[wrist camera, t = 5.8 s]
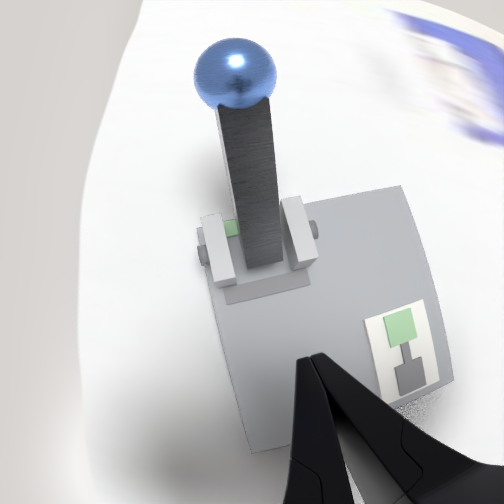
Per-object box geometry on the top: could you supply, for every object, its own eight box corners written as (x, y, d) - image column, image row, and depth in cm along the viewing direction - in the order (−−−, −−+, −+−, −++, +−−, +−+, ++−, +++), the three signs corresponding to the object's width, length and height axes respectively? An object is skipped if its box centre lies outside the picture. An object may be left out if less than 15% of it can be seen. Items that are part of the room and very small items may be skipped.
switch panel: (445, 378, 17) (477, 384, 13) (251, 447, 16) (252, 472, 12) (394, 191, 20) (417, 167, 16) (199, 233, 19) (189, 212, 15)
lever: (297, 263, 15) (282, 35, 8) (236, 278, 15) (187, 49, 8) (280, 225, 18) (261, 31, 10) (227, 237, 17) (186, 43, 10)
